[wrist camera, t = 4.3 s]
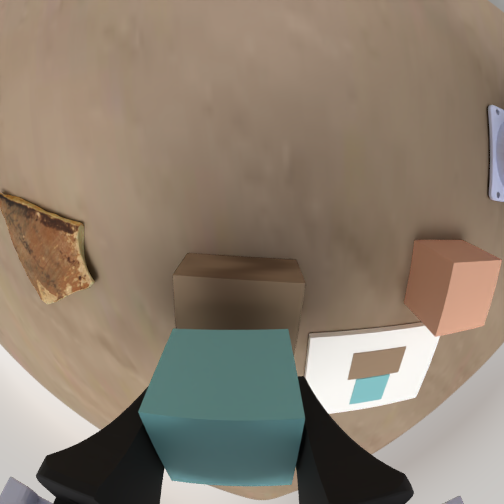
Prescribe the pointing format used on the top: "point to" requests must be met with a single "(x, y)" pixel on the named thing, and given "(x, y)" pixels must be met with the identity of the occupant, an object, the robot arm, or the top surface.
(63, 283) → the shard
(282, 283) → the walnut block
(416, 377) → the card
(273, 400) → the teal block
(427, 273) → the terracotta block
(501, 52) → the top surface
